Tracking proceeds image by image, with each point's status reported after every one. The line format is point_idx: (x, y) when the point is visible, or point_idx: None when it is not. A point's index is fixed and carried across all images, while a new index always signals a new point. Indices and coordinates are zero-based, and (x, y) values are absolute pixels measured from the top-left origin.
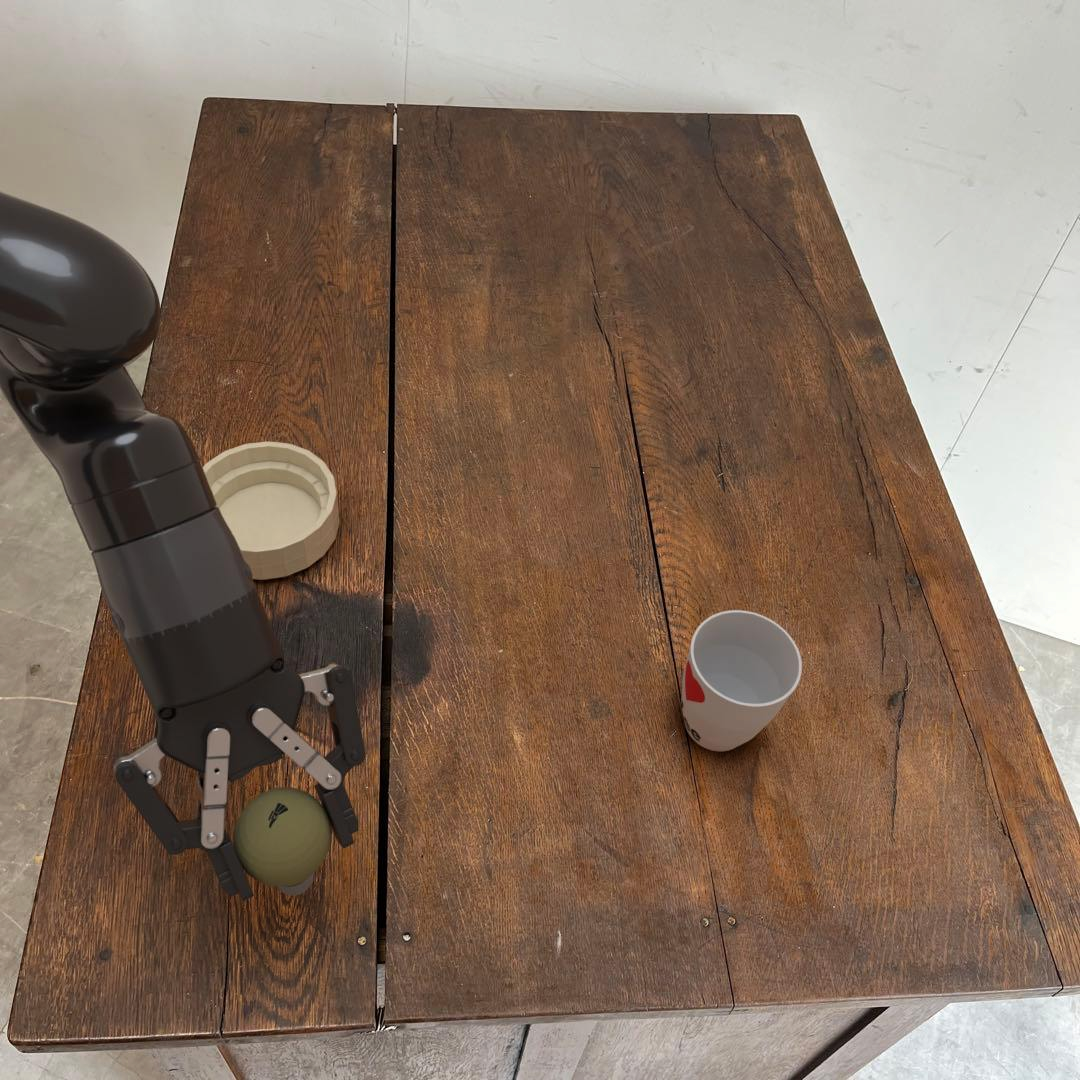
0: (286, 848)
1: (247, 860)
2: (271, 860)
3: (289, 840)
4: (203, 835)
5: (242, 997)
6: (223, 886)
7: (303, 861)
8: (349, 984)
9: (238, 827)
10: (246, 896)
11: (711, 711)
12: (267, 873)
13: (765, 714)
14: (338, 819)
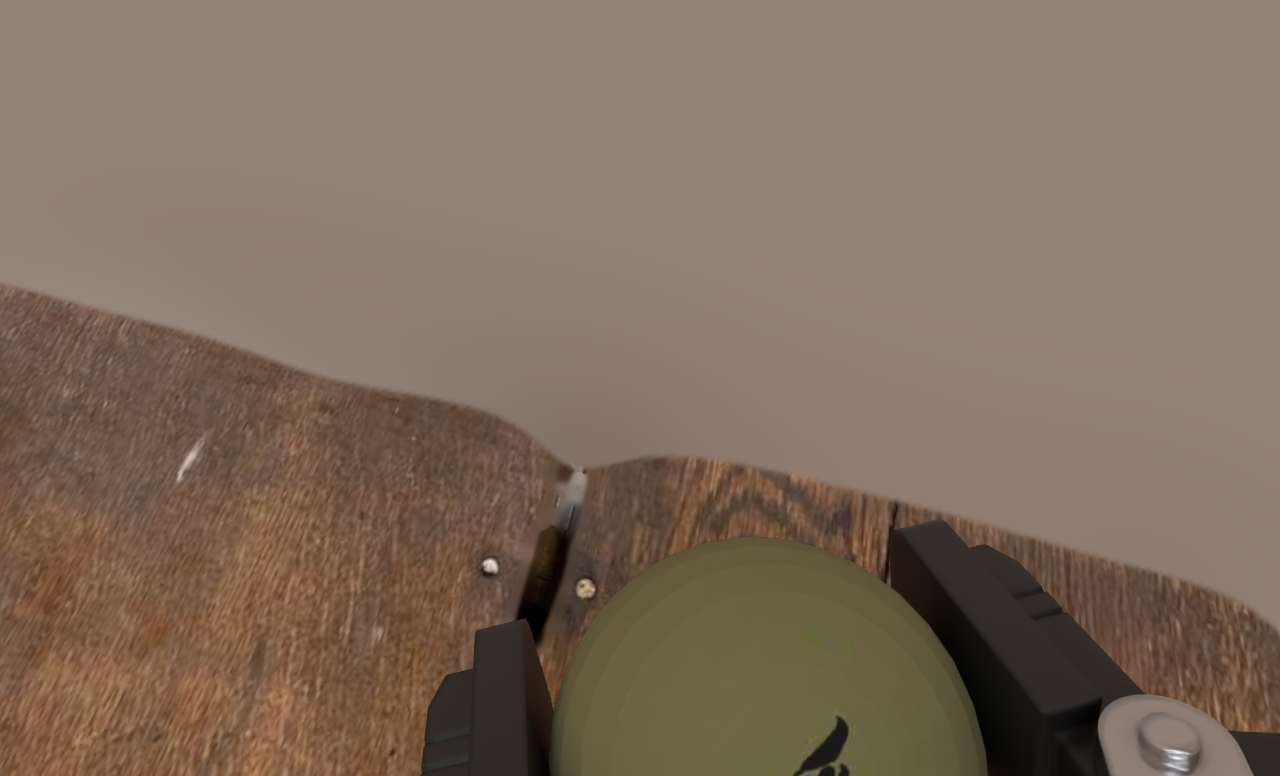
0: (765, 603)
1: (935, 638)
2: (836, 581)
3: (748, 628)
4: (1235, 765)
5: (852, 546)
6: (1025, 574)
7: (694, 559)
8: (632, 505)
9: None
10: (926, 524)
11: None
12: (848, 563)
13: None
14: (500, 718)
